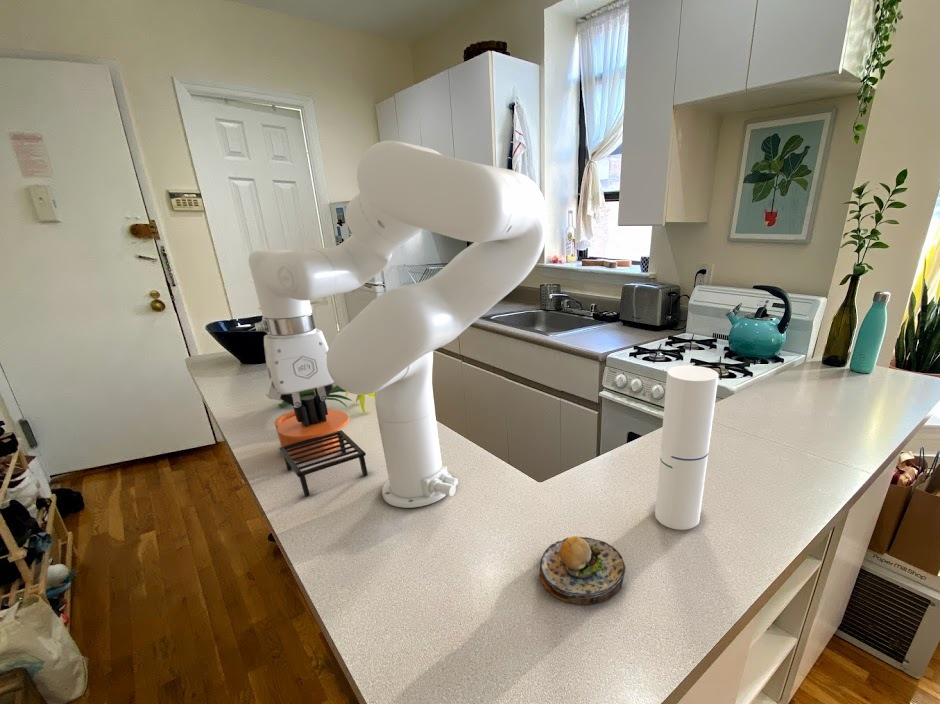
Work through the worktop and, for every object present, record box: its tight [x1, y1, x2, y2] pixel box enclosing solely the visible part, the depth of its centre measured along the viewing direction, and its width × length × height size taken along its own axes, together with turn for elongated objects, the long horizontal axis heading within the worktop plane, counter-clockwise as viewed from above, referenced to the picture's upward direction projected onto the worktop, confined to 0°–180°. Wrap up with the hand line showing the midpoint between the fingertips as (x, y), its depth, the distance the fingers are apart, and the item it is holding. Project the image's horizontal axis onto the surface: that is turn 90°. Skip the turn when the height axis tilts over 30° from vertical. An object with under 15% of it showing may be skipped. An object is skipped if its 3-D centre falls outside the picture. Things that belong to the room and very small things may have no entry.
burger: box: [538, 536, 626, 605], centre depth 63 cm, size 12×12×8 cm
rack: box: [278, 429, 369, 498], centre depth 91 cm, size 14×12×5 cm
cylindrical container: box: [654, 364, 719, 531], centre depth 72 cm, size 7×7×25 cm
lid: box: [276, 396, 350, 439], centre depth 87 cm, size 12×12×6 cm
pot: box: [274, 407, 339, 461], centre depth 100 cm, size 11×11×8 cm
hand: (313, 421), depth 88 cm, fingers closed on lid, 2 cm apart
